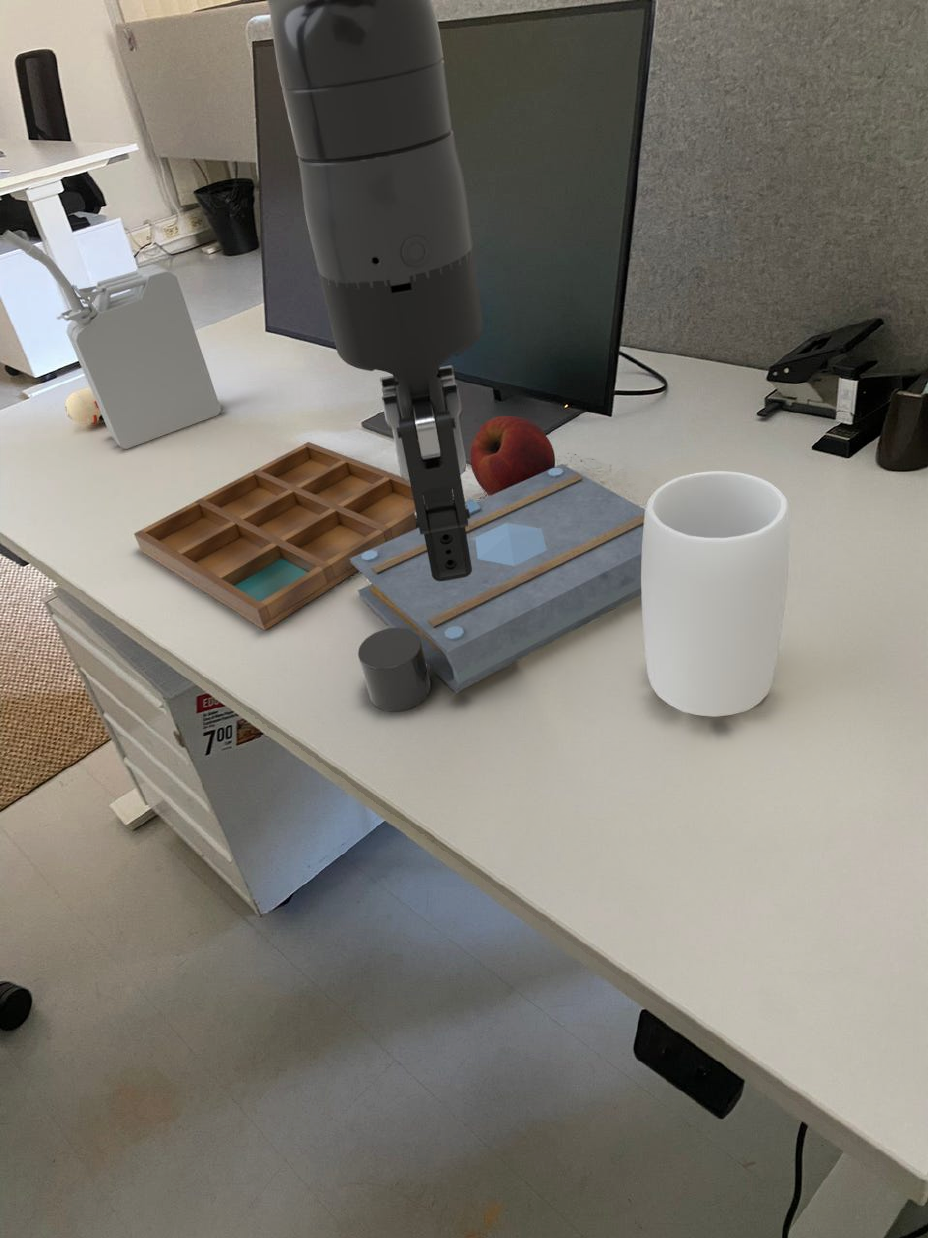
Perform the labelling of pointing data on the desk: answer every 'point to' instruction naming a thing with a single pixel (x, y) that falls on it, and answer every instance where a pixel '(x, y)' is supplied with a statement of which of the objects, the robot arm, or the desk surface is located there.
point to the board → (282, 531)
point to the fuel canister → (136, 351)
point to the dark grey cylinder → (394, 669)
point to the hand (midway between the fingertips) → (445, 535)
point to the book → (512, 574)
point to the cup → (714, 590)
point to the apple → (509, 453)
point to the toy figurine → (83, 407)
